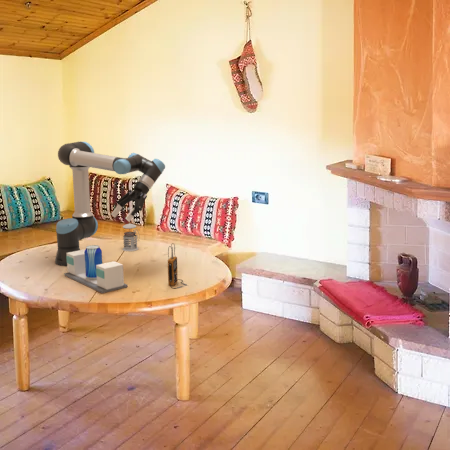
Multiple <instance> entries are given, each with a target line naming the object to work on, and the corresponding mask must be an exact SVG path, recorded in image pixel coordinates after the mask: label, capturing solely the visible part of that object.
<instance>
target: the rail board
mask: <svg viewBox="0 0 450 450" xmlns="http://www.w3.org/2000/svg"><path fill="white" fill-rule="evenodd" d="M84 251H85V249H80V250H78V251H73V252H68V253H66V254H67V256H66V259H67V268H66V269H67V272H65V273H63V274H64V275H65V276H64V275H63V276H64V277H66V276H67V277H66V278H69V279H71V280H73V281H75V282H77V283H79V284H82V285H84V286H86V287H88V288H90V289H92V290H94V291H96V292H99V293H101V294H105V293H110V292H113V291H117V290H120V289H124V288H128V284H126V283H125V280H124V278H125V277H124V264H122V263H120V262H117V261H115V260H114V261H113V260H112V261H108V262H104V263H102V264H99V265H96V276H97V280H90V279H88V278H87V277H86V271H85V254H84Z"/></svg>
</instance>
